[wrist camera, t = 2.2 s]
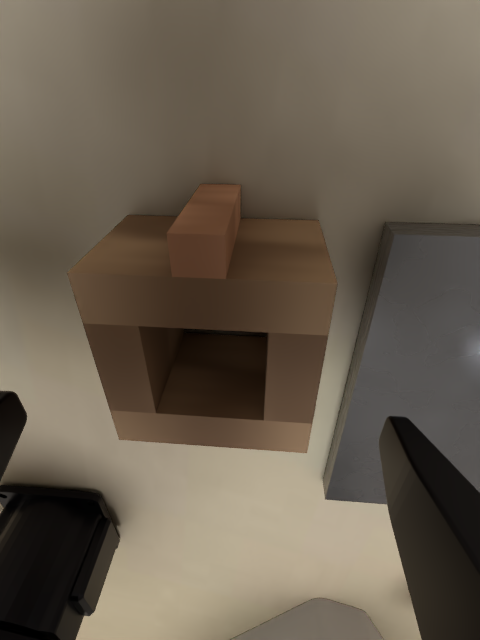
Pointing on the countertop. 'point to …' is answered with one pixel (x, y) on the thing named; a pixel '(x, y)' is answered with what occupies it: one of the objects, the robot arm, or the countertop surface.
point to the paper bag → (316, 624)
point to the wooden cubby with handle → (209, 324)
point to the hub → (413, 357)
